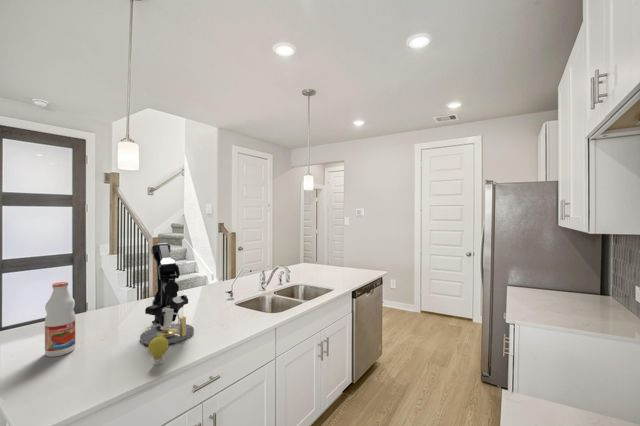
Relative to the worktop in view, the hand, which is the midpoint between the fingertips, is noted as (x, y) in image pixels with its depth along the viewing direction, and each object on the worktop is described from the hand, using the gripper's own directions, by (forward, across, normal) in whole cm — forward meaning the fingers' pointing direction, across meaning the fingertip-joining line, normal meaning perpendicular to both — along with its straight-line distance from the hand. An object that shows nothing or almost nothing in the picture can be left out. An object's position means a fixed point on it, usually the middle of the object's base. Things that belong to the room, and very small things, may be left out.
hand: (167, 323), depth 138 cm
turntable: (+6, 0, 0) cm, 6 cm away
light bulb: (+6, -19, -18) cm, 27 cm away
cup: (+2, 0, 0) cm, 2 cm away
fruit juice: (+6, -29, +26) cm, 39 cm away
